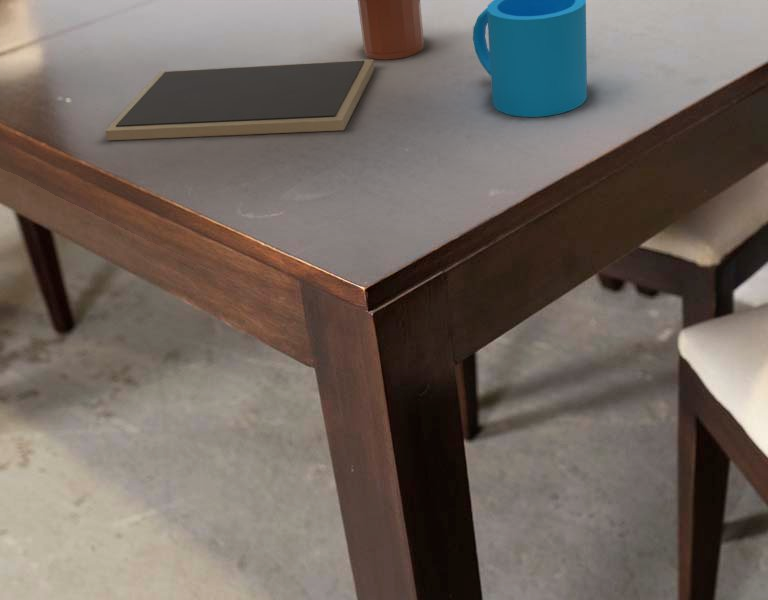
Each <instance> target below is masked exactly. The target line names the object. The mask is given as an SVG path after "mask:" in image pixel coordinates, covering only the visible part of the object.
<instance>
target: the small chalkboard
mask: <svg viewBox="0 0 768 600" xmlns="http://www.w3.org/2000/svg"><path fill="white" fill-rule="evenodd" d="M375 67H376V66H375V59H374V58H371V59H359V60H358V59H357V60H356V59H355V60H354V59H353V60H341V61H340V60H338V61H322V62H321V61H320V62H305V63H303V62H302V63H287V64H267V65H250V66H232V67H215V68H198V69H180V70H179V69H178V70H162V71H160V72H158V73H157V74H156V76H155V77H154V78H153V79H151V80H150V82H149V83H148V84H147V85H146V86H145V88H143V90H142V91H141V92H140V93H138V95H137V96H136V97H135V98H134V99H133V100H132V101H131V102H130V104H129V105H127V107H125V109H124V110H123V111H122V112H121V113H119V115H118V117H116V118H115V120H113V122H112V123H111V124H110V125H108V126H107V128H106V129H105V134H106V138H107V141H128V140H131V141H132V140H151V139H153V140H155V139H173V138H174V139H175V138H177V139H178V138H195V137H196V138H197V137H199V138H200V137H220V136H221V137H223V136H244V135H245V136H246V135H247V136H248V135H265V134H266V135H267V134H268V135H269V134H288V133H289V134H290V133H291V134H293V133H315V132H336V131H345V129H346V127H347V125H348V124H349V121H350V119H351V117H352V116H353V113H354V111H355V110H356V107H357V106H358V103H359V101H360V99H361V97H362V95H363V93H364V91H365V89H366V87H367V85H368V83H369V81H370V79H371V77H372V75H373V74H374V71H375Z"/></svg>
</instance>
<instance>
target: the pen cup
mask: <svg viewBox="0 0 768 600" xmlns="http://www.w3.org/2000/svg"><path fill="white" fill-rule="evenodd" d="M357 6H358V14H359V22H360V31H361V37H362V44H363V45H362V46H363V52H364V54H365V56H366V57H368V58H369V59H370V58H371V59H373V60H385V61H386V60H387V61H388V60H398V59H403V58H407V57H411V56H413V55H415V54H418V53H420V52H421V51H422V50H423V49H424V47H425V44H424V43H425V42H424V40H425V38H424V37H425V36H424V28H423V17H422V16H423V15H422V7H421V0H357Z"/></svg>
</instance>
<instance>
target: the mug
mask: <svg viewBox="0 0 768 600" xmlns="http://www.w3.org/2000/svg"><path fill="white" fill-rule="evenodd" d="M472 30H473V31H472V42H473V46H474V51H475V54H476V56H477V58H478V60H479V63H480V64H481V66H482V67H483V68H484V70H485V71H486V72H487V74H488V75H489V76H490V81H491V96H492V97H491V98H492V99H491V100H492V105H493V107H494V109H496V110H497V111H499V112H501V113H502V114H505V115H510V116H513V117H514V116H515V117H524V118H540V117H549V116H554V115H560V114H561V115H562V114H564V113H567V112H569V111H570V112H571V111H572V110H576V109H577V108H579V107H580V106H582V105H583V104H584V103H585V102H586V101H587V99H588V88H587V87H588V79H587V78H588V75H587V73H588V72H587V71H588V69H587V67H588V66H587V65H588V64H587V0H492V1H491V2H489V3H488V4H487V7H486V8H485V9H483V11H482V12H481V13H480V14H479V15H478V16H477V19H476V21H475V23H474V25H473V29H472ZM486 32H488V33H486ZM486 34H487V35H488V44H487V39H486Z"/></svg>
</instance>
